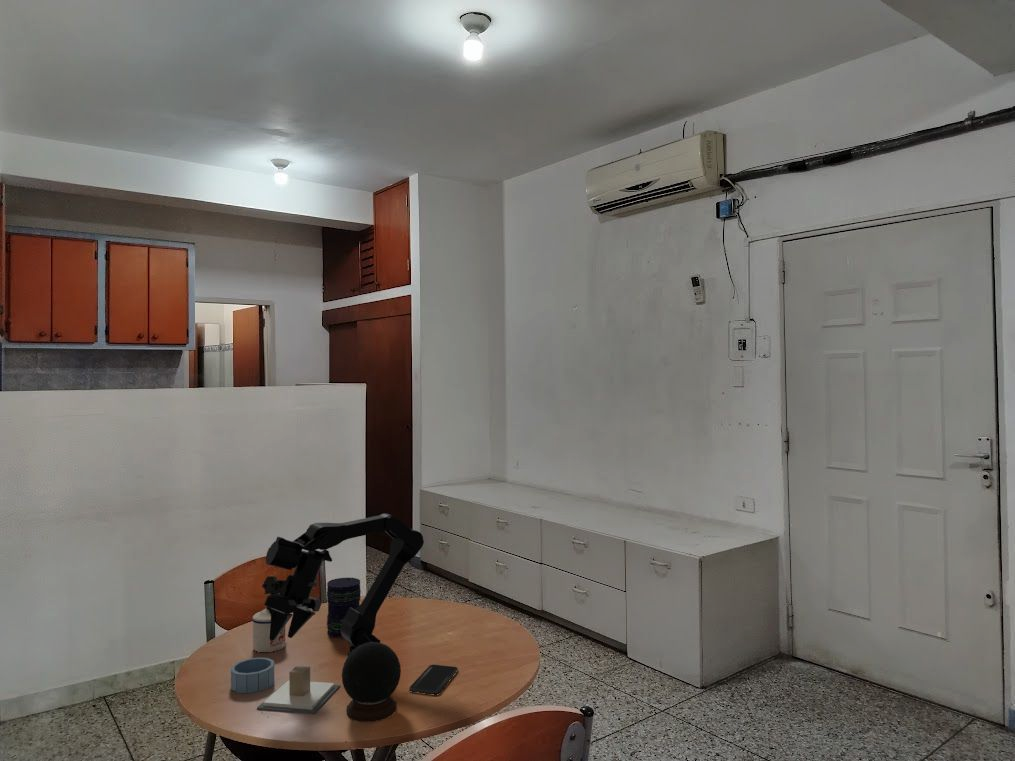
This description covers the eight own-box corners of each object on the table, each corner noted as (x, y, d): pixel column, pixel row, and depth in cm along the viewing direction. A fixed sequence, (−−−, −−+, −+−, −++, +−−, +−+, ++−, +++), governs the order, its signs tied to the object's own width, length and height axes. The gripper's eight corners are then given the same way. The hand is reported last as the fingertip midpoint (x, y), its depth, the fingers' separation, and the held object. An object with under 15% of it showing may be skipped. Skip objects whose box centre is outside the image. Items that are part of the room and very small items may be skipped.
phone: (408, 689, 164) (430, 664, 179) (408, 693, 164) (430, 668, 179) (438, 692, 162) (459, 667, 177) (438, 697, 162) (459, 671, 177)
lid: (334, 686, 166) (334, 660, 166) (312, 709, 155) (312, 681, 155) (288, 683, 168) (288, 657, 168) (263, 705, 157) (263, 678, 157)
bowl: (281, 676, 173) (281, 659, 173) (260, 694, 163) (260, 675, 163) (245, 674, 175) (245, 656, 175) (222, 691, 165) (222, 672, 165)
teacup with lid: (274, 655, 187) (274, 612, 187) (245, 652, 189) (245, 610, 189) (297, 639, 199) (297, 599, 199) (270, 636, 201) (270, 596, 201)
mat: (340, 686, 167) (340, 685, 167) (314, 714, 153) (314, 712, 153) (286, 682, 170) (286, 681, 170) (256, 709, 156) (256, 707, 156)
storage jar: (349, 639, 198) (349, 588, 198) (320, 636, 201) (320, 585, 201) (366, 628, 207) (366, 578, 207) (338, 624, 210) (338, 576, 210)
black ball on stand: (372, 691, 165) (372, 629, 165) (412, 706, 157) (412, 641, 157) (329, 713, 154) (329, 646, 154) (370, 730, 146) (370, 660, 146)
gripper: (294, 565, 179) (270, 625, 175) (258, 562, 161) (231, 629, 157) (331, 579, 176) (308, 640, 172) (299, 577, 158) (273, 645, 155)
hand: (280, 638), depth 164 cm, fingers open, 9 cm apart
